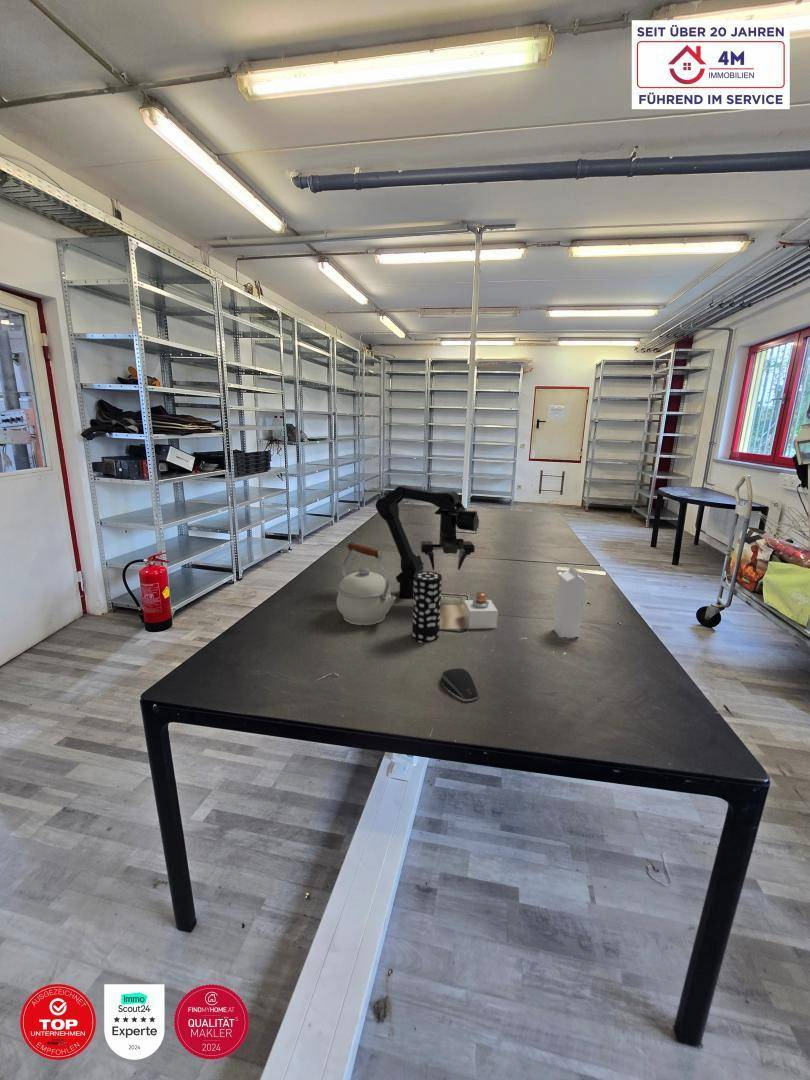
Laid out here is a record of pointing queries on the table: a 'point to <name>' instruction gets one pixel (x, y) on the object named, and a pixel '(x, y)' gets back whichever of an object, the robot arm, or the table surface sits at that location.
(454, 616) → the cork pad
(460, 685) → the computer mouse
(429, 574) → the white-spotted black cylinder
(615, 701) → the table surface
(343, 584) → the kettle
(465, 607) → the white square block
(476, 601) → the plunger
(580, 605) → the milk
